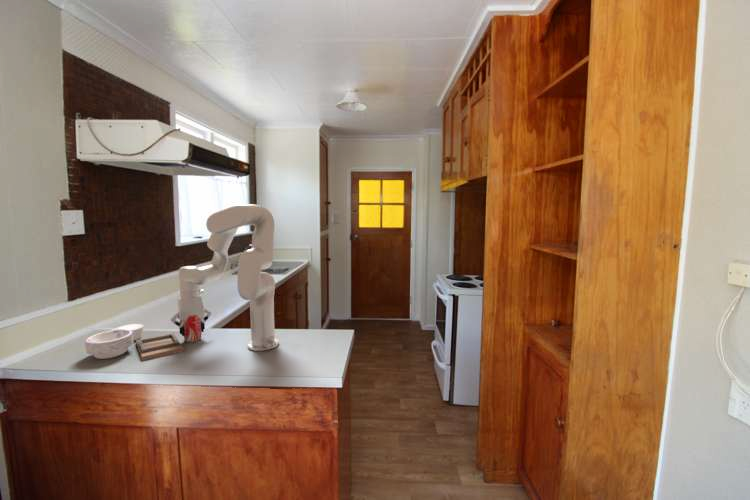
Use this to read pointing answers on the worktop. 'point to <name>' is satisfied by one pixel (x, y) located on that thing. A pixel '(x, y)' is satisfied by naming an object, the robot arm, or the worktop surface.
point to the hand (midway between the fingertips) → (192, 332)
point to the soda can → (192, 328)
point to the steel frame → (159, 345)
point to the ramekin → (133, 330)
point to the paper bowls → (109, 343)
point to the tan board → (159, 351)
